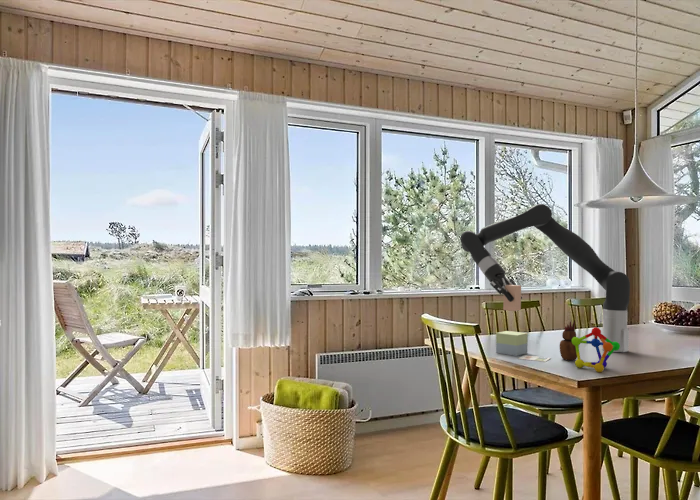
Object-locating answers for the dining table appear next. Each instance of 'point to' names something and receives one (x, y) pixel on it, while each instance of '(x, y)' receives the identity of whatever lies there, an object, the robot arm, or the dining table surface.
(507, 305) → the brick
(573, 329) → the wooden figurine
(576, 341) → the educational toy
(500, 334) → the pedestal
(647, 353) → the dining table surface
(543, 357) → the page
